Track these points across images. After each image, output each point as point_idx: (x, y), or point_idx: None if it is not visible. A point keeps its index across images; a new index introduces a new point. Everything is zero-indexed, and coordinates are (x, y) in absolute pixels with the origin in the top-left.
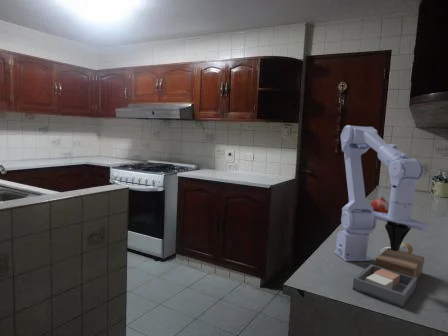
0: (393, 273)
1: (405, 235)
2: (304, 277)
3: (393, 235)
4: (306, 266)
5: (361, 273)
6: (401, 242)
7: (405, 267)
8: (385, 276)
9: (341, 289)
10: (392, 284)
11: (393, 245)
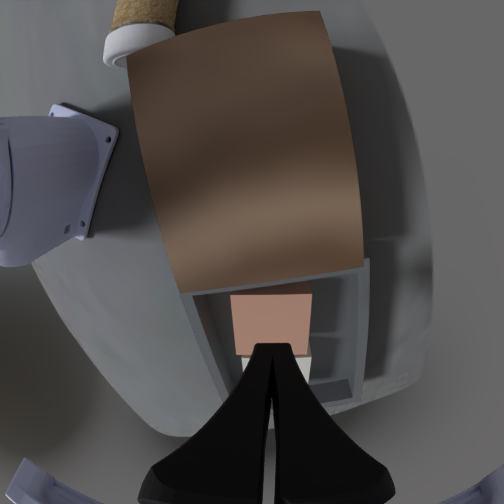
0: (286, 302)
1: (336, 431)
2: (144, 406)
3: (263, 473)
4: (95, 361)
5: (218, 382)
6: (304, 382)
7: (324, 271)
8: None
9: (219, 405)
10: (309, 348)
11: (270, 407)
